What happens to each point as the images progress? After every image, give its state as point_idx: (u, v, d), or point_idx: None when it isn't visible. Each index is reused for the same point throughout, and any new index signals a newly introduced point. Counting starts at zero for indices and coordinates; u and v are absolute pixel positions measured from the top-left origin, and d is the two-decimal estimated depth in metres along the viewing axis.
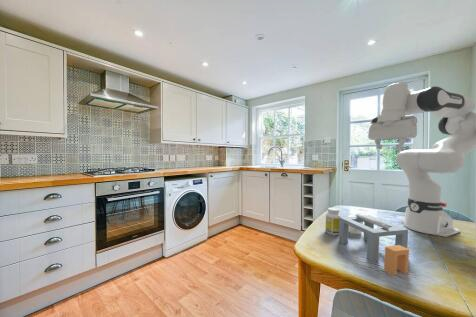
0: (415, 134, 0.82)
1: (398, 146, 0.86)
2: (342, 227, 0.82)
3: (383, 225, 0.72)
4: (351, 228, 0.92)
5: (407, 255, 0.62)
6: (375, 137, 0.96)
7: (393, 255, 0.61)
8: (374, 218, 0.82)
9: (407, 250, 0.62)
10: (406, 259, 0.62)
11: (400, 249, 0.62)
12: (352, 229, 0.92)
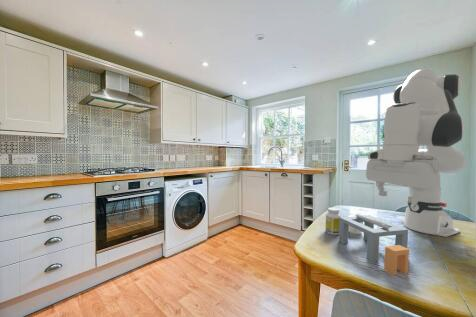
0: (438, 185, 0.53)
1: (412, 200, 0.57)
2: (342, 227, 0.82)
3: (383, 225, 0.72)
4: (351, 228, 0.92)
5: (407, 255, 0.62)
6: (376, 179, 0.68)
7: (393, 255, 0.61)
8: (374, 218, 0.82)
9: (407, 250, 0.62)
10: (406, 259, 0.62)
11: (400, 249, 0.62)
12: (352, 229, 0.92)
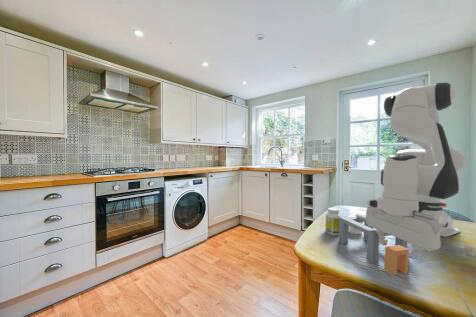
0: (438, 246, 0.52)
1: (411, 255, 0.57)
2: (342, 227, 0.82)
3: None
4: (351, 228, 0.92)
5: None
6: (376, 227, 0.67)
7: (393, 255, 0.61)
8: None
9: (407, 250, 0.62)
10: (406, 259, 0.62)
11: (400, 249, 0.62)
12: (352, 229, 0.92)
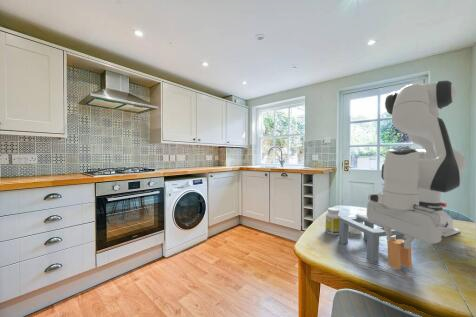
0: (439, 239, 0.53)
1: (404, 245, 0.60)
2: (342, 227, 0.82)
3: None
4: (351, 228, 0.92)
5: None
6: (377, 221, 0.68)
7: (396, 248, 0.61)
8: None
9: None
10: (409, 252, 0.62)
11: None
12: (352, 229, 0.92)
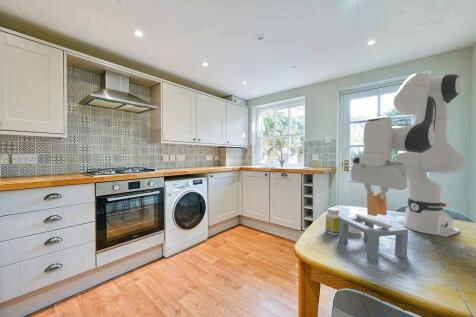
0: (405, 185, 0.65)
1: (380, 196, 0.73)
2: (342, 227, 0.82)
3: (383, 225, 0.72)
4: (351, 228, 0.92)
5: (385, 199, 0.74)
6: (359, 180, 0.80)
7: (373, 199, 0.73)
8: (374, 218, 0.82)
9: (385, 195, 0.75)
10: (384, 203, 0.74)
11: None
12: (352, 229, 0.92)
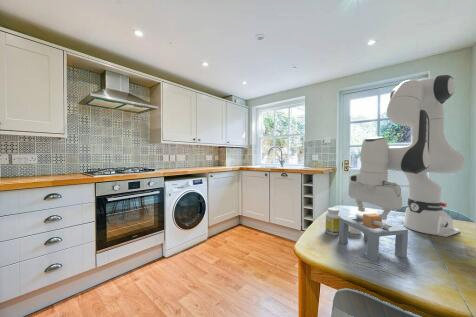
0: (400, 206, 0.67)
1: (382, 216, 0.72)
2: (342, 227, 0.82)
3: (383, 225, 0.72)
4: (351, 228, 0.92)
5: (380, 220, 0.76)
6: (356, 197, 0.82)
7: (368, 220, 0.75)
8: None
9: None
10: None
11: (374, 215, 0.76)
12: (352, 229, 0.92)
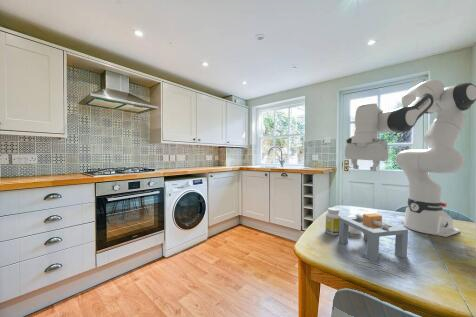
0: (387, 157, 0.81)
1: (372, 168, 0.86)
2: (342, 227, 0.82)
3: (383, 225, 0.72)
4: (351, 228, 0.92)
5: (380, 220, 0.76)
6: (351, 157, 0.96)
7: (368, 220, 0.75)
8: None
9: (381, 216, 0.76)
10: None
11: (374, 215, 0.76)
12: (352, 229, 0.92)
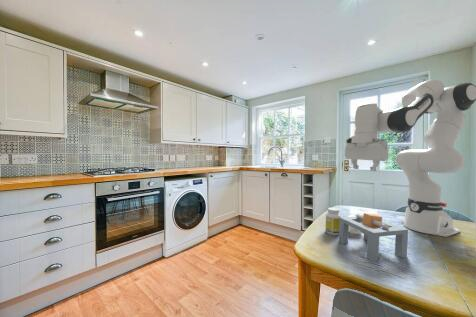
0: (387, 157, 0.81)
1: (372, 168, 0.86)
2: (342, 227, 0.82)
3: (383, 225, 0.72)
4: (351, 228, 0.92)
5: (380, 221, 0.76)
6: (351, 157, 0.96)
7: (368, 219, 0.75)
8: None
9: (381, 217, 0.76)
10: None
11: (375, 215, 0.76)
12: (352, 229, 0.92)
